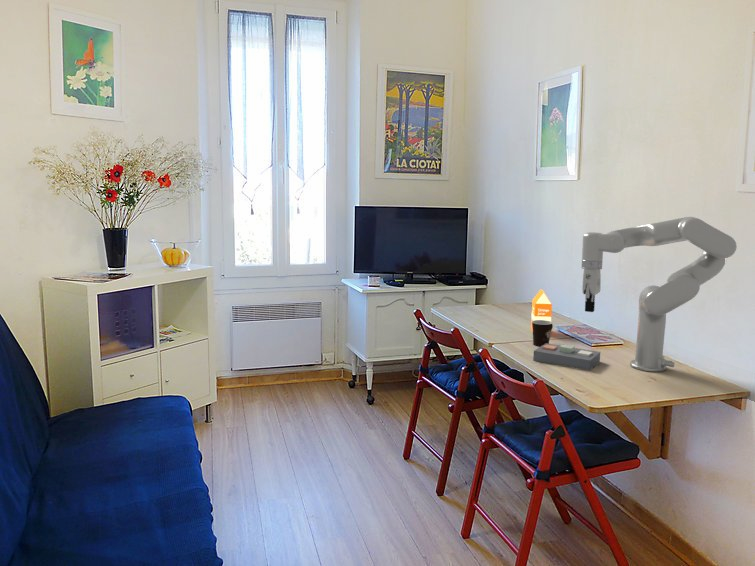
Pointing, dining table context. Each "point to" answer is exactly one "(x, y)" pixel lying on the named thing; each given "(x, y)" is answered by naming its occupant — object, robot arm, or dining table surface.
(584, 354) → the key cream
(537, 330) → the coffee mug
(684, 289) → the robot arm
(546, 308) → the orange juice
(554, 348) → the key terracotta
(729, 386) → the dining table surface
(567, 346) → the key sage
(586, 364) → the grey button panel
